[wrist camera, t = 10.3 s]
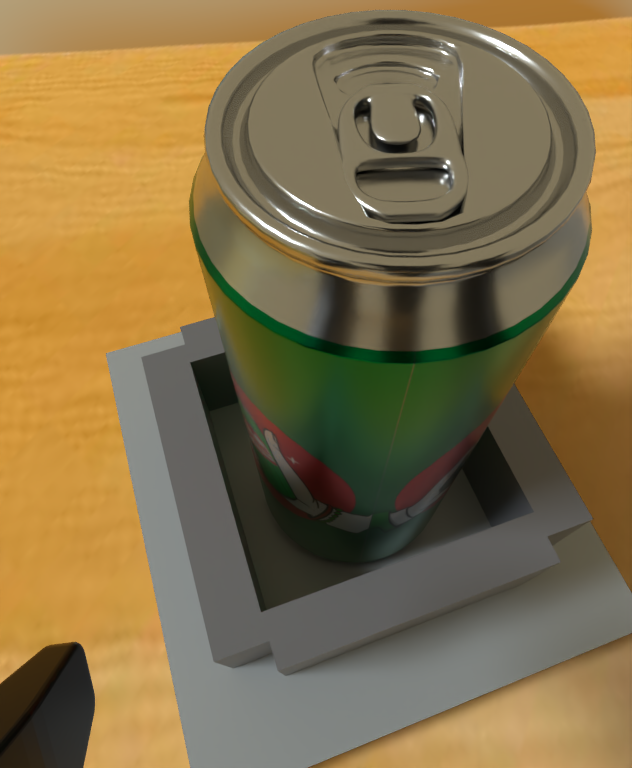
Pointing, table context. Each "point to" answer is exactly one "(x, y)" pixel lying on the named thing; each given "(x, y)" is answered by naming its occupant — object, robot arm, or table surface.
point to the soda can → (384, 256)
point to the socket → (345, 576)
